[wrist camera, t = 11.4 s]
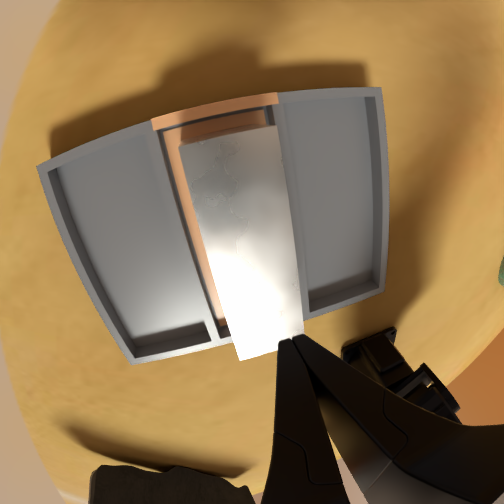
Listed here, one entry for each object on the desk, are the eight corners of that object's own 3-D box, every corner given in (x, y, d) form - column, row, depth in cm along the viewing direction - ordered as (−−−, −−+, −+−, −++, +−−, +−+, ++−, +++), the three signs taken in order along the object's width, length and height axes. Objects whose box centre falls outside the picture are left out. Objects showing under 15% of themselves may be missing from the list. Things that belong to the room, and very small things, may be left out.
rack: (371, 278, 23) (392, 299, 20) (133, 347, 21) (129, 376, 18) (363, 88, 16) (393, 86, 13) (50, 160, 13) (26, 170, 11)
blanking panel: (282, 298, 20) (305, 340, 16) (228, 314, 20) (240, 360, 16) (252, 123, 15) (276, 125, 11) (180, 140, 14) (178, 146, 10)
